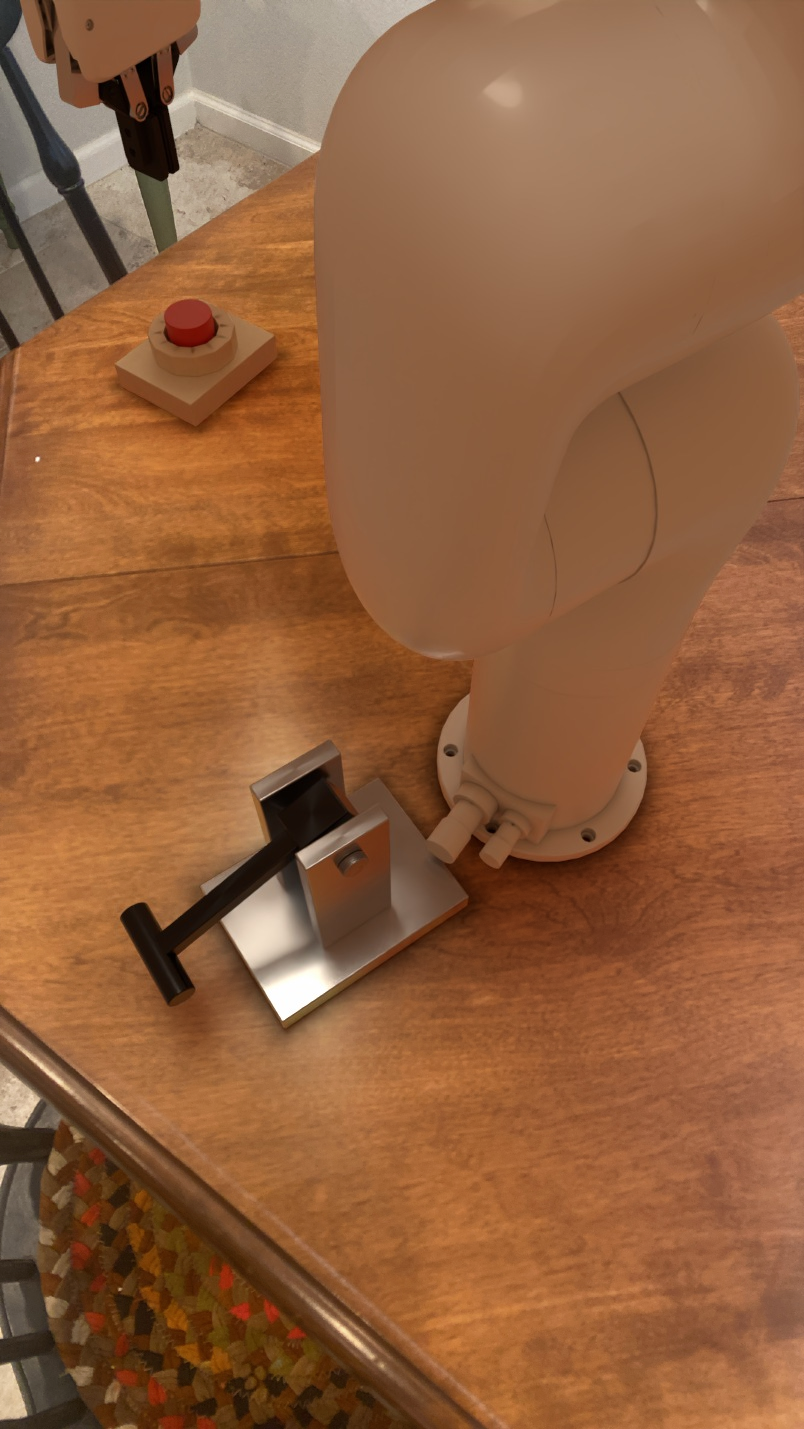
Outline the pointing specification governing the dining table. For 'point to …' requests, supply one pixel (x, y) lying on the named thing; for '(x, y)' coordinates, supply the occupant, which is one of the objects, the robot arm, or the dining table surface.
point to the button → (189, 323)
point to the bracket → (335, 892)
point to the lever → (232, 889)
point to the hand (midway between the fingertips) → (154, 168)
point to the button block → (196, 366)
